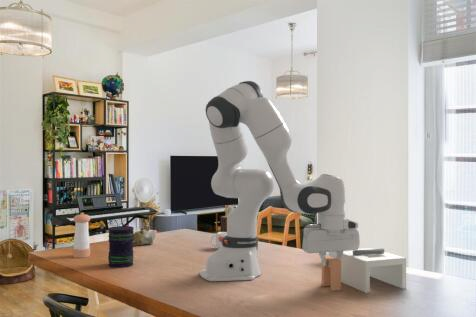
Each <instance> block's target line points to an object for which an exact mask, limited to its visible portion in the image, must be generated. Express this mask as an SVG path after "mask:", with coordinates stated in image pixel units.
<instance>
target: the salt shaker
mask: <svg viewBox="0 0 476 317" xmlns="http://www.w3.org/2000/svg"><path fill="white" fill-rule="evenodd" d="M73 221H74V223H75V231H74V235H73V236H74V237H73V248H72V258H75V259H77V258H78V259H79V258H80V259H81V258H89V257H90V256H91V247H90V242H91V240H90V239H91V238H90V232H89V222H90V221H91V216H90V215H89V214H85V212H80V213H79V214H76V215H74V217H73Z"/></svg>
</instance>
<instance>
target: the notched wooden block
mask: <svg viewBox="0 0 476 317" xmlns="http://www.w3.org/2000/svg"><path fill="white" fill-rule="evenodd" d="M325 258H326V260H329V265H328V266H323V265H322V264H321V286H323V287H328V286H329V287H330V290H331V291H332V292H333V291H334V292H335V291H341V290H342V282H341V260H339V259H336V258H333V257H330V256H329V255H326V256H325Z"/></svg>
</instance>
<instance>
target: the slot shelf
mask: <svg viewBox="0 0 476 317" xmlns="http://www.w3.org/2000/svg"><path fill="white" fill-rule="evenodd" d="M336 256H337V253H336V252H334V258H336ZM340 260H341V284H342V283H343V284H345V285H346V286H349V287H352V288H353V289H356V290H359V291H360V292H362V293H365V294H367V293H368V294H369V293H371V284H370V283H371V278H374V279H376V280H379V281H382V282H383V283H387V284H389V285H392V286H394V287H396V288H400V289H404V290H405V289H407V257H405V256H401V255H397V254H393V253H390V252H386V251H385V248H383V247H382V248H372V247H367V248H366V247H364V248H358V250H350V251H343V256H342V258H341V259H340ZM370 277H371V278H370Z"/></svg>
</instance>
